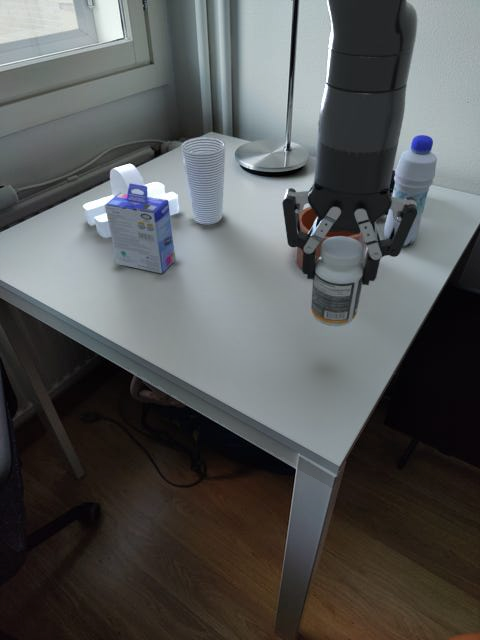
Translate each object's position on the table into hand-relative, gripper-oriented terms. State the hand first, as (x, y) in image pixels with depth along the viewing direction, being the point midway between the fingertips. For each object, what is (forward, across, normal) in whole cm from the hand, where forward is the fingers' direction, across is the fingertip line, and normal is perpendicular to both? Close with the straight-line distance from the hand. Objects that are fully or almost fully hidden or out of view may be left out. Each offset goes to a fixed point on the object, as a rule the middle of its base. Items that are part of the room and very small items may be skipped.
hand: (338, 277), depth 55 cm
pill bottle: (+6, 0, 0) cm, 6 cm away
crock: (+16, -2, +28) cm, 32 cm away
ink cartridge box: (+16, -34, +21) cm, 43 cm away
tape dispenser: (+16, -44, +36) cm, 59 cm away
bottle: (+16, +11, +37) cm, 42 cm away
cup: (+16, -28, +39) cm, 50 cm away
